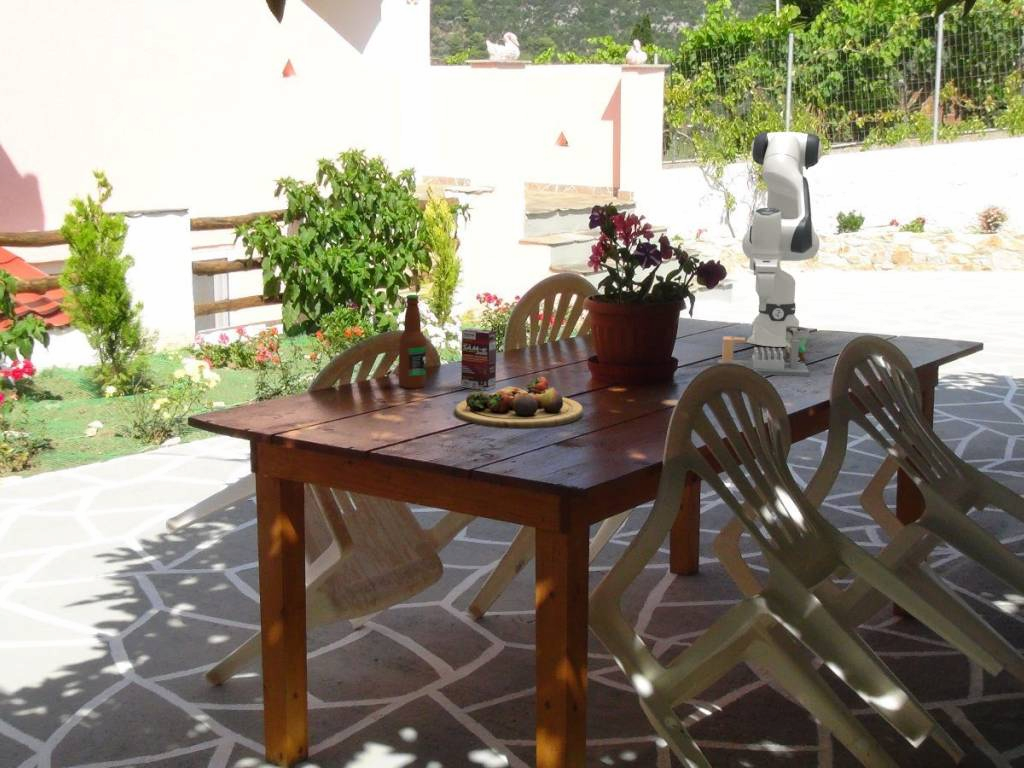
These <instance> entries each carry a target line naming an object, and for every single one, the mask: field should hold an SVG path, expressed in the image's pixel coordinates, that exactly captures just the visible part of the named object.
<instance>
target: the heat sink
mask: <svg viewBox="0 0 1024 768" xmlns="http://www.w3.org/2000/svg"><path fill="white" fill-rule="evenodd" d="M790 343H791V344H792V348H790V356H789V361H785V358H784V352H783V350H782V347H778V349H776V347H772V352H771V350H770V347H766V348H765V349H766V350H764V348H763V347H760V348H759V351H758V347H757V346H756V347H755V346H754V347H753V354H751V360H743V359H733V362H734V363H739V364H743V365H746V366H749V367H751V368H753V369H754V370H756V371H757V372H759V373H761V374H763V375H764V374H766V375H765V376H786V375H793V377H810V371H809V369H808V367H807V365H806V364H805V362H800V363H798V351H799V340H798V338H791V340H790ZM718 363H722V359H717V364H718ZM761 374H760V375H761ZM794 375H795V376H794Z"/></svg>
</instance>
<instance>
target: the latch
mask: <svg viewBox="0 0 1024 768" xmlns="http://www.w3.org/2000/svg"><path fill="white" fill-rule="evenodd" d="M735 343H742V344H743V343H744V344H745V343H746V344H747V340H746V337H745V336H744V337H743V336H722V355H721V360H722V363H727V362H731V363H733V360H734V345H735Z"/></svg>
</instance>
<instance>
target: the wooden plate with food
mask: <svg viewBox="0 0 1024 768" xmlns="http://www.w3.org/2000/svg"><path fill="white" fill-rule="evenodd" d="M525 387H526V390H527V391H526V390H525V389H522V388H520V387H514V386H505V387H504V388H501V389H498V390H497V391H495V392H492V393H486V392H484V391H485V390H484V389H482V390H481V389H480V390H479V391H475V390H474V391H473V392H470V393H469V394H468V395H467V397H466V399H465V400H463V401H459V403H458V404H457V405H455V408H454V414H455V415H456V416H457V417H458V418H459V420H460V419H461V420H463V421H464V422H468V423H471V424H475V425H480V426H486V427H492V428H493V427H494V428H495V427H496V428H501V429H503V428H505V429H541V428H552V427H557V426H562V425H566V424H570V423H574V422H575V421H577V420H579V419H580V418H581V417H582V416H583V414H584V407H583V406H582V404H580V403H579V402H578V401H577V400H575V399H574V400H573V399H570V398H569V397H564V396H562V394H561V393H560V392H559V391H558V389H556V388H555V387H549V383H548V379H546V378H545V377H544V376H539V377H536V379H535V380H533V379H531V380H530V381H529V384H528V385H527V384H526V385H525Z"/></svg>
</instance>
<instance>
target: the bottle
mask: <svg viewBox="0 0 1024 768" xmlns="http://www.w3.org/2000/svg"><path fill="white" fill-rule="evenodd" d="M406 299H407V300H406V304H407V305H406V310H405V316H404V325H403V326H404V331H403V332H402V334H401V335H400V337H399V340H398V385H399V386H400V387H401V388H403V389H411V390H412V389H422V388H424V387H425V386H426V382H427V378H426V377H427V375H426V373H427V363H426V362H427V359H426V358H427V351H426V350H427V340H426V337H425V335H424V334H423V332H422V330H421V314H420V309H419V306H418V305H419V304H420V303H419V295H418V294H408V295H406Z"/></svg>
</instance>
